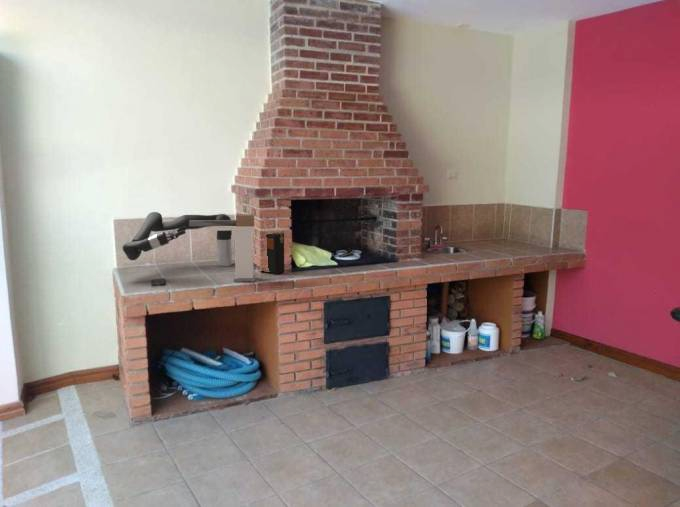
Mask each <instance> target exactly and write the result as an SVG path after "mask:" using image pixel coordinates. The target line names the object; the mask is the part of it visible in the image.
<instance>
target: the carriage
mask: <svg viewBox="0 0 680 507" xmlns="http://www.w3.org/2000/svg"><path fill="white" fill-rule="evenodd" d="M189 226H254V227H255V214H253V213H251V214H250V213H247V214H245V213H244V214H242V213H241V214H240V213H239V214H236V215H235V219H231V220H190V221H189Z"/></svg>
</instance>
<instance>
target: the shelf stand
mask: <svg viewBox="0 0 680 507" xmlns="http://www.w3.org/2000/svg"><path fill="white" fill-rule="evenodd" d="M225 230H232V231H233V232H234V261H235V262H234V266H235V268H234V269H235V271H234V272H235V274H234V277H233V282H234V283H243V282H242V281H255V282H256V274H255V273H254V237H253V235H254V234H253V232H254V231H255V225H254V226H211V227H210V231H212V232H213V231H214V232H215V231H216V232H217V231H225Z"/></svg>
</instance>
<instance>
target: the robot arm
mask: <svg viewBox="0 0 680 507" xmlns="http://www.w3.org/2000/svg"><path fill="white" fill-rule="evenodd" d="M190 220H232V219H231V217H230V216H228V214H225V213H219V214H211V215H205V214H184V215H181V216H179V217H177V218H175V219H173V220H170V221H165V222H164V221H163V215H162V214H161V213H160V212H158V211H152V212H150V213H148V214H147V215H146V218H145V220H144V222H143V223H142V226H141V227H140V229H139V230H138V232H137V233H136V234H135V235H134V237H133V238H132V240H131V241H128V242H126V243H124V244H123V245H122V251H123V252H124V254H125V256H126V257H127V259H129V260H130V261H136V260H138V259H139V258H140V256H141V254H142V252H149V251H151V250H154V249H158V248H161V247H163V246H167V245H168V244H169V243H170V241H172V240H175V239H179V237H180V236H182V235H186V231H187V230H198V229H199V230H200V229H203V228H207V227H208V228H209V227H210V228H211V226H189V221H190ZM167 231H168V232H167ZM232 231H233V230H225V231H216V252H217V253H216V254H217V255H216V256H217V259H216V260H217V266H218V267H230V266H232V265H233V255H232V254H233V253H232V248H233V246H232V235H233V232H232ZM151 232H154V233H155V232H158V233H155V234H153V235H151ZM166 232H167V233H166Z"/></svg>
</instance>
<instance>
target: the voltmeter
mask: <svg viewBox="0 0 680 507" xmlns="http://www.w3.org/2000/svg"><path fill="white" fill-rule="evenodd" d="M266 237H267V256H268V268H269V271H270V272H271V273H270V274H273V273H274V275H279V273H280V274H283V273H282V272H284V273H285V233H284V232H277V233H273V234H267V235H266Z"/></svg>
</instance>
